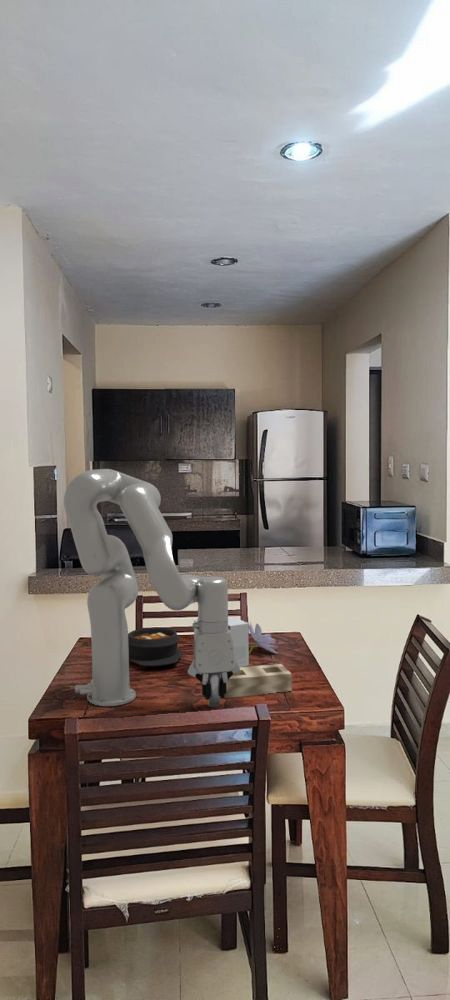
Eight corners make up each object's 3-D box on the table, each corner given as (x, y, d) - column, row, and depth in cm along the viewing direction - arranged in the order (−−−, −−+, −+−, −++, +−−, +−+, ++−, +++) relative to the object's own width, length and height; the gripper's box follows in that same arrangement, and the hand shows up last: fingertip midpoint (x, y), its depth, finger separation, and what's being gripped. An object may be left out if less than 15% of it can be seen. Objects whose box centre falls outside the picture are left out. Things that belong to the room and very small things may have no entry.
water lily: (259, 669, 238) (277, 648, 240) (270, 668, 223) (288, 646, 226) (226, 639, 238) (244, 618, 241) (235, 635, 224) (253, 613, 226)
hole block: (225, 698, 191) (225, 679, 191) (218, 687, 200) (218, 669, 200) (291, 691, 195) (291, 673, 195) (281, 681, 204) (281, 663, 204)
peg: (209, 708, 184) (209, 669, 184) (207, 704, 187) (206, 665, 187) (221, 707, 185) (220, 668, 184) (218, 702, 188) (218, 664, 187)
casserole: (191, 668, 217) (191, 640, 217) (129, 675, 212) (128, 646, 211) (173, 646, 241) (173, 621, 241) (116, 651, 236) (116, 626, 235)
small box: (218, 662, 223) (217, 619, 222) (236, 659, 226) (235, 617, 225) (230, 669, 216) (230, 625, 215) (249, 665, 219) (248, 622, 218)
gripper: (183, 632, 179) (184, 705, 181) (248, 627, 183) (249, 699, 184) (178, 624, 186) (179, 695, 188) (241, 620, 190) (242, 689, 191)
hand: (214, 696), depth 186 cm, fingers open, 3 cm apart
